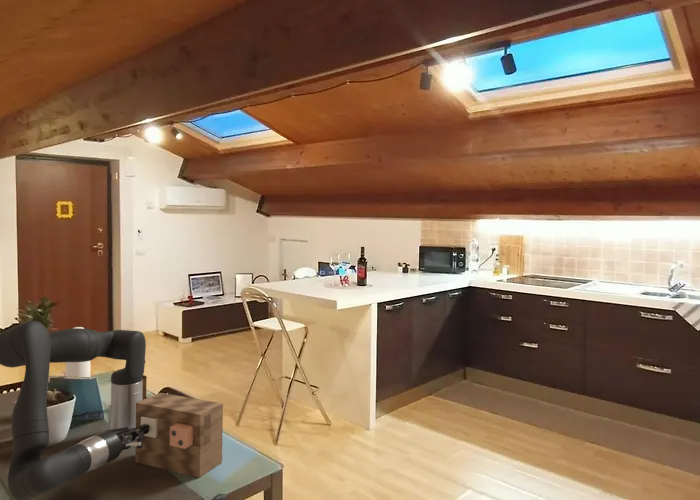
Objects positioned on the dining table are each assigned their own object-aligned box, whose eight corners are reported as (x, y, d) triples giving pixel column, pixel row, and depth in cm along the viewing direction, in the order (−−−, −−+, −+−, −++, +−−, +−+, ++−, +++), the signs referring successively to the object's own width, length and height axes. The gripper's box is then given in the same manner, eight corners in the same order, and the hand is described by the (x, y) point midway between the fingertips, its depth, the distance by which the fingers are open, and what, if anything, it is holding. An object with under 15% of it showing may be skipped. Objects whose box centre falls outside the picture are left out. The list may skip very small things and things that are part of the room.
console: (135, 462, 151) (135, 402, 150) (160, 448, 160) (160, 392, 159) (199, 477, 143) (200, 414, 142) (222, 462, 152) (222, 403, 151)
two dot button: (169, 445, 142) (169, 427, 142) (182, 438, 147) (182, 420, 147) (184, 449, 140) (184, 430, 140) (197, 441, 145) (197, 423, 145)
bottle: (64, 417, 183) (64, 330, 182) (66, 410, 191) (66, 326, 189) (90, 414, 187) (90, 329, 185) (91, 407, 194) (91, 325, 192)
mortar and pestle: (143, 410, 192) (143, 360, 191) (127, 408, 193) (127, 359, 193) (153, 404, 199) (154, 356, 198) (137, 403, 200) (138, 355, 199)
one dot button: (140, 435, 149) (140, 417, 148) (153, 428, 153) (153, 411, 153) (154, 438, 147) (154, 420, 146) (167, 431, 151) (167, 414, 151)
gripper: (116, 441, 129) (166, 418, 145) (76, 431, 134) (128, 410, 150) (116, 471, 129) (166, 445, 145) (76, 461, 134) (128, 437, 150)
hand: (147, 427), depth 147 cm, fingers closed
